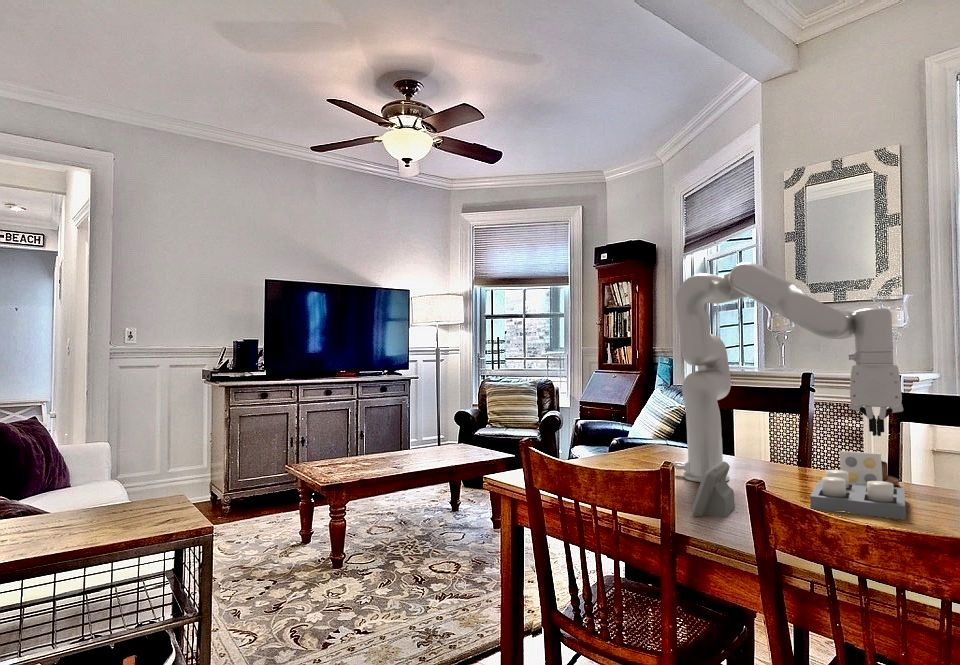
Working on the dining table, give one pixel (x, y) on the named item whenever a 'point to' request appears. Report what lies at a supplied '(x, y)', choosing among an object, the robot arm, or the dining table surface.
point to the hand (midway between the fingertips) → (876, 435)
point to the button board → (859, 502)
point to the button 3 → (880, 491)
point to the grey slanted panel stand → (714, 493)
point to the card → (861, 466)
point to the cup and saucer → (885, 475)
